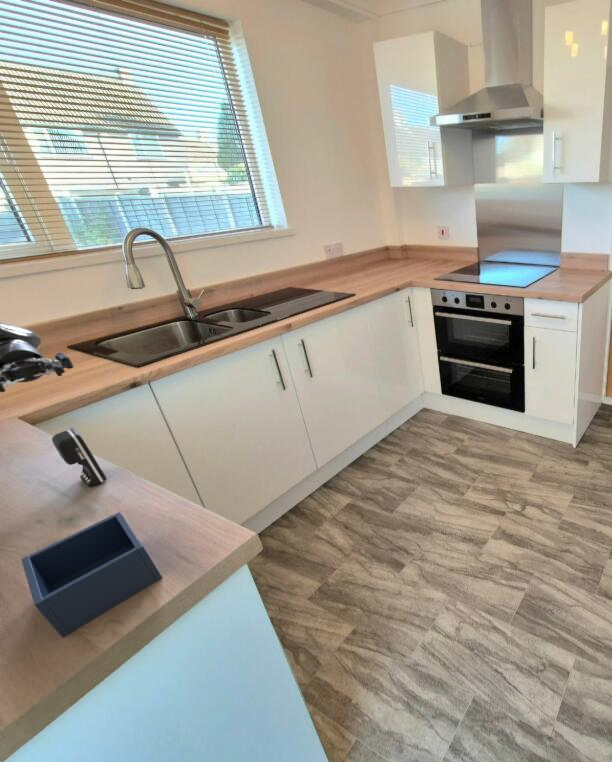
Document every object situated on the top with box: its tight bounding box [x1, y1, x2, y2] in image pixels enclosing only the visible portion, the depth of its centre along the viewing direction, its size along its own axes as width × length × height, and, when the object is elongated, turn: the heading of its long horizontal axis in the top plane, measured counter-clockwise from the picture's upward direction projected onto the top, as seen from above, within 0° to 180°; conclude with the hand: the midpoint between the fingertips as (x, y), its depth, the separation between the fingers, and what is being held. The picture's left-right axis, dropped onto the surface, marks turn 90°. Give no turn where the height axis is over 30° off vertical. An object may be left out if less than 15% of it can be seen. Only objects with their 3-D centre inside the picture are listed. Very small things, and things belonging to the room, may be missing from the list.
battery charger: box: [51, 428, 108, 487], centre depth 87 cm, size 7×4×11 cm, turn 55°
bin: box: [21, 511, 163, 638], centre depth 64 cm, size 12×13×7 cm
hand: (30, 379), depth 88 cm, fingers open, 8 cm apart
